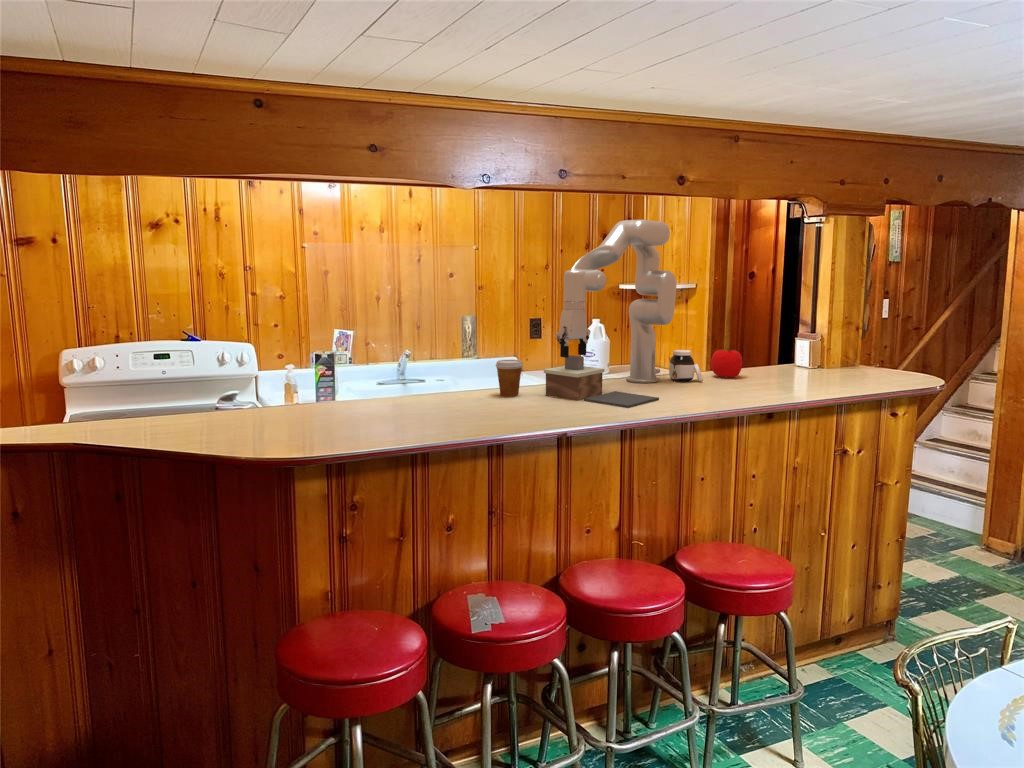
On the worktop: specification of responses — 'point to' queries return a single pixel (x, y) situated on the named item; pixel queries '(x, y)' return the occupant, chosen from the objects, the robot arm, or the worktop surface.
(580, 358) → the lid
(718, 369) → the red apple
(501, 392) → the disposable coffee cup
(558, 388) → the box
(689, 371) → the spread jar
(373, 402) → the worktop surface
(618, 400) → the mat
